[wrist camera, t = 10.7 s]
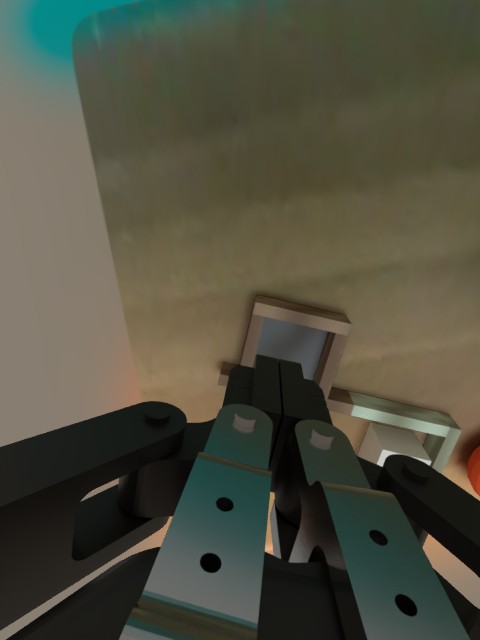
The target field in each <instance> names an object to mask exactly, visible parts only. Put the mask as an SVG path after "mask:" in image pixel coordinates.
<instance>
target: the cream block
mask: <svg viewBox="0 0 480 640" xmlns="http://www.w3.org/2000/svg"><path fill="white" fill-rule="evenodd" d="M392 454H402V455H407V456H411V457H413V458H416V459H418V460H420V461H422V462H424V463H426V464H428V465H429V466H430V464H431V462H432V461H431V459H430V458H429V456H428V455H427V453H426V451H425V450H424V448H423V447H422V445H421V443H420V442H419V440H418V439H417V437H416V435H415V434H414V433H413V432H408V431H404V430H400V429H396V428H392V427H388V426H384V425H380V424H376V423H371V422H370V424H369V427H368V430H367V432H366V435H365V437H364V440H363V442H362V445H361V448H360V450H359V453H358V455H357V456H359V457H361V458H363V459H365V460H367V461H370V462H372V463H375V464H377V465H379V466H382V467H383V464H384V461H385V459H386V458H387V456H389V455H392Z"/></svg>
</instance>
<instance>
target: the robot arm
mask: <svg viewBox="0 0 480 640" xmlns="http://www.w3.org/2000/svg"><path fill="white" fill-rule="evenodd" d="M117 478H119V484H117V485H115V486H113V487H111V488H109V489H107V490H105V491H102V492H100V493H98V494H96V495H94V496H92V497H90V498H88V499H86V500H83V501H81V500H82V499H83V498H84V497H85V496H86V495H87V494H88V493H89V492H91V491H92V490H94V489H96V488H98V487H100V486H102V485H104V484H107V483H109V482H111V481H113V480H115V479H117ZM270 492H275V499H274V503H273V506H272V510H271V513H270V522H271V532H272V542H273V552H274V556H273V555H271V554H269V553H267V552H265V542H266V531H267V520H268V510H269V499H270ZM80 501H81V502H80ZM169 516H173V518H172V520H171V523H170V525H169V528H168V530H167V533H166V535H165V538H164V540H163V543H162V546H161V547H156V548H152V549H148V550H145V551H142V552H139V553H137V554H134V555H131V556H130V557H128V558H126V559H124V560H122V561H120V562H118V563H117V564H115V565H113V566H112V567H110V568H109V569H108V570H106V571H105V572H103V573H102V574H100V575H99V576H98V577H96V578H95V579H93V580H92V581H90V582H89V583H87V584H86V585H84V586H83V587H81V588H80V589H79V590H77V591H76V592H74V593H73V594H71V595H70V596H68V597H67V598H66V599H64V600H63V601H61V602H60V603H58V604H57V605H55V606H54V607H53V608H51V609H50V610H48V611H47V612H45V613H44V614H42V615H41V616H40V617H38V618H37V619H35V620H34V621H32V622H31V623H29V624H28V625H27V626H25V627H24V628H22V629H21V630H19V631H18V632H17V633H15V634H13V635H12V636H11V637H9V638H8V639H6V640H480V609H478V608H477V607H475V606H474V605H473V604H472V603H470V601H468V600H467V599H466V598H465V597H464V596H463V595H462V594H461V593H460V592H459V591H458V590H456V589H455V588H454V587H453V586H452V585H451V584H450V583H449V582H448V581H447V580H446V579H444V578H443V577H442V576H441V575H440V574H439V573H438V572H437V571H436V570H434V569H433V568H432V565H431V563H430V562H429V560H428V558H427V556H426V554H425V552H424V550H423V548H422V547H423V545H424V543H425V540H426V538H427V536H428V534H430V535H431V536H432V537H434V538H435V539H436V540H437V541H438V542H439V543H441V544H442V545H443V546H444V547H445V548H446V549H448V550H449V551H450V552H451V553H452V554H453V555H455V556H456V557H457V558H458V559H459V560H460V561H462V562H463V563H464V564H465V565H466V566H467V567H469V568H470V569H471V570H472V571H473V572H474V573H475V574H477V576H478V577H479V578H480V501H479V500H478V499H476V498H475V497H473V496H472V495H470V494H469V493H468V492H466V491H465V490H463V489H462V488H461V487H459V486H458V485H456V484H455V483H453V482H452V481H451V480H449V479H448V478H446V477H445V476H444V475H442V474H441V473H439V472H438V471H436V470H435V469H434V468H432V467H431V466H429V465H428V464H426V463H424V462H422V461H420V460H418V459H416V458H413V457H411V456H407V455H402V454H392V455H389V456H387V458H386V459H385V461H384V464H383V467H382V466H379V465H377V464H375V463H372V462H370V461H367V460H365V459H363V458H361V457H359V456H357V455H356V454H355V452H354V450H353V448H352V445H351V443H350V441H349V439H348V437H347V436H346V435H345V434H344V433H343V432H342V431H341V430H339V429H338V428H336V427H335V426H333V424H332V421H331V417H330V414H329V410H328V407H327V403H326V400H325V396H324V393H323V390H322V389H321V388H320V386H319V385H318V384H317V383H316V382H315V381H313V380H308V379H304V375H303V371H302V366H301V363H297V362H293V361H288V360H283V359H279V360H278V358H274V357H269V356H264V355H260V354H256V356H255V360H254V364H253V368H252V367H247V366H243V365H237V366H235V367H234V368H232V369H231V370H230V374H229V379H228V383H227V388H226V392H225V397H224V402H223V406H222V408H221V409H220V410H219V412H218V415H217V417H216V418H215V419H213V420H210V421H207V422H201V423H187V419H186V416H185V414H184V413H183V412H182V411H181V410H180V409H179V408H177V407H176V406H173V405H171V404H168V403H164V402H156V401H150V402H143V403H139V404H136V405H132V406H129V407H126V408H123V409H120V410H117V411H113V412H110V413H107V414H104V415H101V416H98V417H94V418H91V419H88V420H85V421H82V422H79V423H75V424H72V425H69V426H66V427H63V428H60V429H56V430H53V431H50V432H47V433H44V434H40V435H37V436H34V437H31V438H28V439H24V440H21V441H18V442H15V443H12V444H9V445H5V446H2V447H0V630H2V629H3V628H5V627H6V626H8V625H10V624H11V623H13V622H14V621H16V620H18V619H19V618H21V617H22V616H24V615H26V614H27V613H29V612H30V611H32V610H33V609H35V608H37V607H38V606H40V605H41V604H43V603H45V602H46V601H48V600H49V599H51V598H52V597H54V596H56V595H57V594H59V593H60V592H62V591H63V590H65V589H66V588H68V587H70V586H71V585H73V584H75V583H76V582H78V581H79V580H81V579H82V578H84V577H85V576H87V575H89V574H90V573H92V572H94V571H95V570H97V569H98V568H100V567H101V566H103V565H105V564H106V563H108V562H109V561H111V560H112V559H114V558H116V557H117V556H119V555H120V554H122V553H124V552H125V551H127V550H128V549H130V548H131V547H133V546H135V545H136V544H138V543H139V542H141V541H143V540H144V539H146V538H147V537H149V536H150V535H152V534H154V533H155V532H157V531H158V530H160V529H161V528H162V527H163V526H164V525H165V524H166V523H167V521H168V519H169Z"/></svg>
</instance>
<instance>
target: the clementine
mask: <svg viewBox="0 0 480 640" xmlns="http://www.w3.org/2000/svg"><path fill="white" fill-rule="evenodd" d="M467 469H468V478H469V480H470V483H471V485H472V487H473V489H474V491H475V492H476V493H477V494H478V495H479V496H480V446H479V447H477V448H476V449H475V450H474V451H473V453H472V454H471V456H470V458H469V461H468V464H467Z"/></svg>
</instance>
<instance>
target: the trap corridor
mask: <svg viewBox="0 0 480 640" xmlns="http://www.w3.org/2000/svg"><path fill="white" fill-rule="evenodd" d="M351 326H352V324H351V322H350V321H349V319H348V318H347V316H346V315H342V314H338V313H333V312H329V311H325V310H321V309H316V308H312V307H308V306H303V305H299V304H295V303H290V302H286V301H282V300H277V299H273V298H269V297H264V296H260V295H256V299H255V303H254V307H253V312H252V316H251V320H250V324H249V328H248V332H247V337H246V341H245V345H244V349H243V353H242V357H241V362H240V365H243V366H247V367H252V368H253V364H254V360H255V356H256V354H260V355H264V356H269V357H274V358H278V360H279V359H283V360H288V361H293V362H297V363H301V366H302V371H303V375H304V379H308V380H313V378H314V380H313V381H315V382H316V383H317V384H318V385H319V386H320V388H321V389H322V390H323V393H324V396H325V400H326V403H327V407H328V410H330V411H335V412H339V413H343V414H347V415H352V416H356V417H360V418H365V419H369V420H373V421H378V422H382V423H386V424H391V425H395V426H399V427H404V428H408V429H412V430H416V431H421V432H425V433H429V434H428V436H427V438H426V441H425V443H424V445H423V448H424V450H425V451H426V453H427V455H428V456H429V458H430V459H431V461H432V462H431V464H430V466H431V467H432V468H434V469H435V470H436V471H438V472H439V473H441V474H442V472H443V470H444V468H445V465H446V463H447V461H448V459H449V457H450V455H451V453H452V450H453V448H454V446H455V444H456V442H457V440H458V437H459V435H460V433H461V431H462V430H461V428H460V427H459V426H458V425H457V424H456V423H455V421H454V420H453V419H452V418H451V417H450V415H449V414H445V413H440V412H436V411H432V410H427V409H423V408H419V407H415V406H410V405H406V404H402V403H397V402H393V401H389V400H384V399H380V398H376V397H371V396H367V395H363V394H358V393H354V392H350V391H345V390H341V389H337V388H332V384H333V380H334V377H335V374H336V371H337V368H338V365H339V362H340V359H341V356H342V353H343V350H344V347H345V344H346V341H347V338H348V335H349V332H350V329H351ZM328 331H329V332H328ZM327 333H328V335H327ZM326 336H327V338H326ZM325 340H326V342H325ZM324 343H325V345H324ZM323 346H324V348H323ZM322 349H323V351H322ZM321 353H322V355H321ZM320 356H321V358H320ZM319 359H320V361H319ZM318 362H319V364H318ZM235 366H237V365H233V364H229V363H225V362H223V365H222V369H221V373H220V377H219V381H218V385H222V386H227V383H228V379H229V374H230V370H231V369H232V368H234V367H235ZM317 366H318V367H317ZM316 369H317V371H316ZM315 372H316V374H315ZM314 375H315V377H314Z"/></svg>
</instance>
